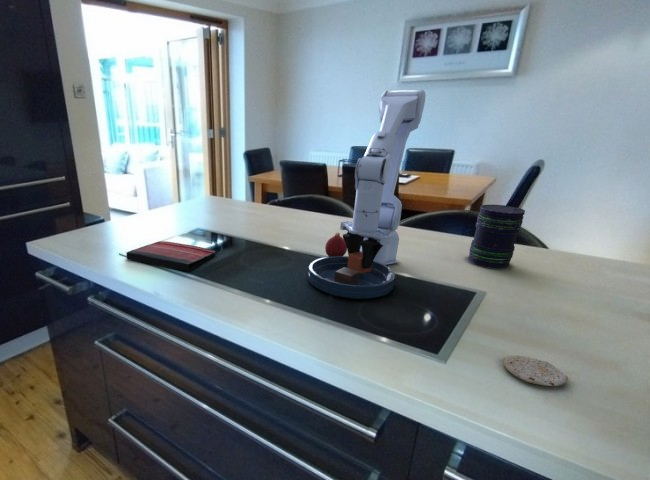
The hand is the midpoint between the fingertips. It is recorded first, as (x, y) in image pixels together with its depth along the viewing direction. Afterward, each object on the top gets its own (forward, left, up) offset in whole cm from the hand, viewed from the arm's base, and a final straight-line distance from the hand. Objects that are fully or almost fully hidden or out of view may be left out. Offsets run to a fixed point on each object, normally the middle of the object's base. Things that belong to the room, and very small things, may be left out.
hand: (359, 264), depth 95 cm
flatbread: (+2, +41, -4) cm, 42 cm away
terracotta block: (0, 0, -1) cm, 1 cm away
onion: (-3, -13, -4) cm, 13 cm away
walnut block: (+7, +4, -3) cm, 9 cm away
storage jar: (-40, +6, -4) cm, 41 cm away
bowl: (+4, +1, -4) cm, 6 cm away
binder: (+37, -35, -4) cm, 51 cm away
